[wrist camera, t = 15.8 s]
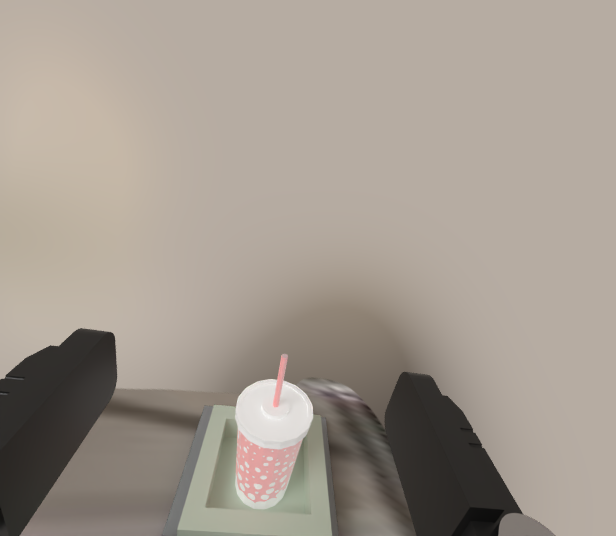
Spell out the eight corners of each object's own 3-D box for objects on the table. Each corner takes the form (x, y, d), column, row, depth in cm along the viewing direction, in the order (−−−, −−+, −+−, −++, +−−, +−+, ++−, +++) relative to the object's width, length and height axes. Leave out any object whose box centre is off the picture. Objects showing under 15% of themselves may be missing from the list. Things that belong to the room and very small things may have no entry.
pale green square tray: (155, 563, 23) (154, 528, 22) (204, 410, 36) (206, 381, 35) (339, 571, 25) (352, 539, 23) (324, 422, 38) (331, 395, 36)
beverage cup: (257, 438, 32) (276, 322, 27) (308, 475, 30) (340, 355, 24) (210, 487, 27) (223, 356, 22) (267, 537, 25) (296, 402, 19)
